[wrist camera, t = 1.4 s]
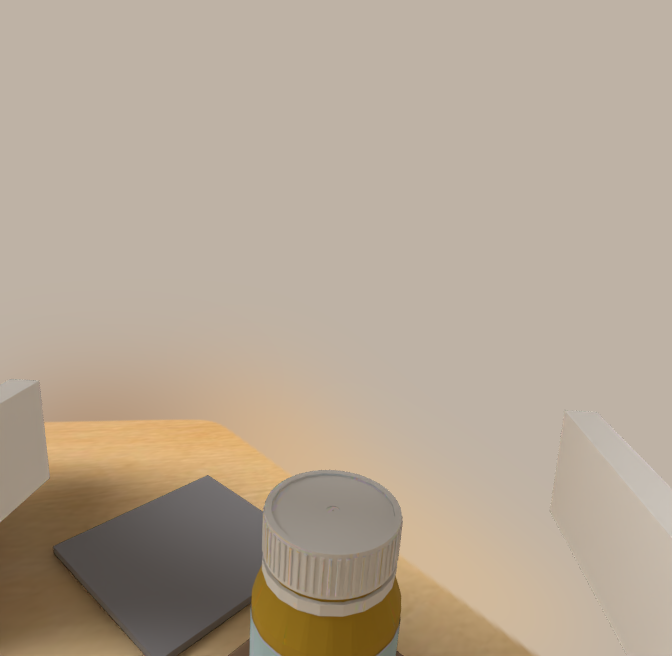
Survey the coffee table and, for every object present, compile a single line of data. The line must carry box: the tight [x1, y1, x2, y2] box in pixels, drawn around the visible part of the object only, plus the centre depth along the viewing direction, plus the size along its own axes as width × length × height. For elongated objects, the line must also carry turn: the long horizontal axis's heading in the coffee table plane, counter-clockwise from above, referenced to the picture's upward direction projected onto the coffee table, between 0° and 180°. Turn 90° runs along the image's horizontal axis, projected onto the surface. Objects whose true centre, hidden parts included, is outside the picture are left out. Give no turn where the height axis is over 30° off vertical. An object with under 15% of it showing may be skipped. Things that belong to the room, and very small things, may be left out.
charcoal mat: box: [53, 475, 263, 656], centre depth 42 cm, size 14×14×1 cm
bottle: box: [249, 470, 403, 656], centre depth 27 cm, size 7×7×15 cm
